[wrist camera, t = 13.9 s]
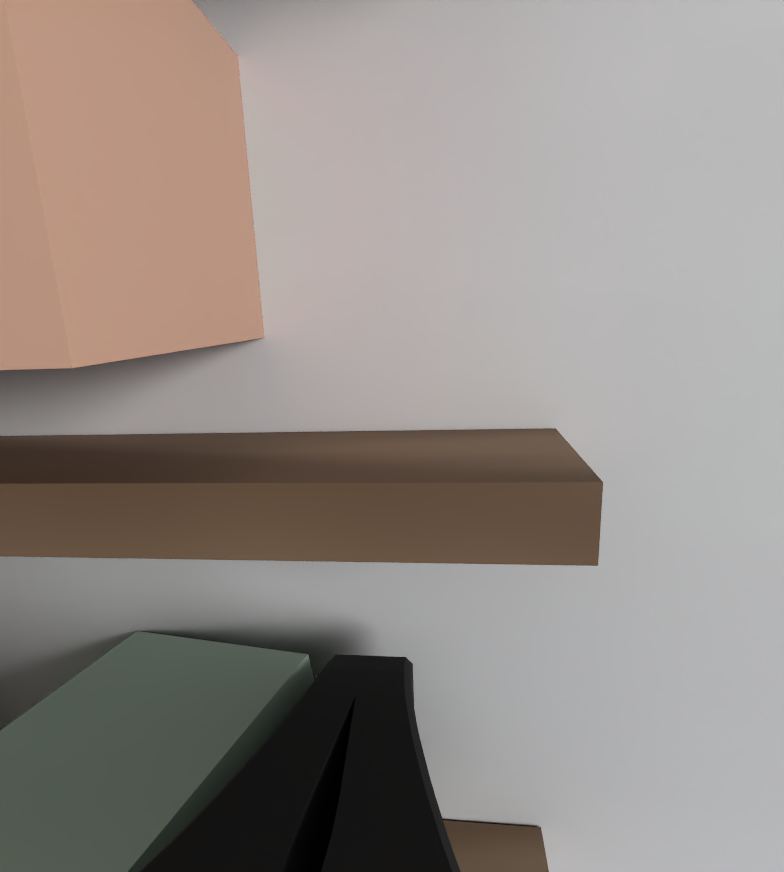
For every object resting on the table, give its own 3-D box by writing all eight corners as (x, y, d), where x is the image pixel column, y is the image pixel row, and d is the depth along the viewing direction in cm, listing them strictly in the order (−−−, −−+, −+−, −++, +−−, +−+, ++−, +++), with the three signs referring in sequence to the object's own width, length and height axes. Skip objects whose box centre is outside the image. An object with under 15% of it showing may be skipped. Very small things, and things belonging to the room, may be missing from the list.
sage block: (355, 849, 9) (109, 1377, 5) (190, 796, 11) (-104, 1151, 6) (308, 653, 8) (-49, 1083, 4) (136, 630, 10) (-248, 909, 6)
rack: (539, 867, 10) (572, 1067, 8) (-55, 818, 12) (-206, 970, 9) (579, -214, 6) (679, -616, 4) (-332, -75, 8) (-750, -279, 5)
